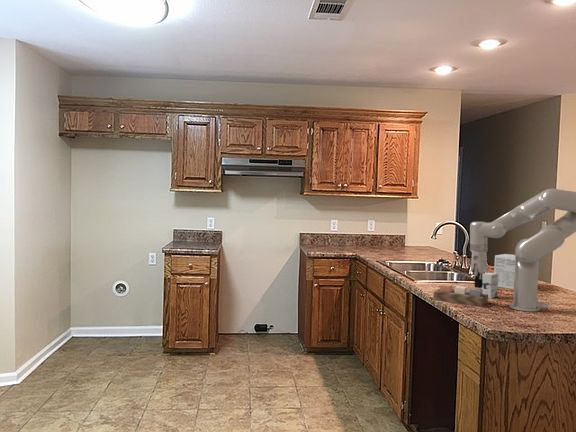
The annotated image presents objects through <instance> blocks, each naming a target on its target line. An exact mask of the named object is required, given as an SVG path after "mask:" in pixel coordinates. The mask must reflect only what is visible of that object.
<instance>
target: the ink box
mask: <svg viewBox="0 0 576 432" xmlns="http://www.w3.org/2000/svg"><path fill="white" fill-rule="evenodd" d="M482 279H483V287H482V288H481V289H483V294H488V299H493V298H497V297H498V289H499V287H498V273H494V272H484V273H483V278H482Z"/></svg>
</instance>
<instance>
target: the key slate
mask: <svg viewBox="0 0 576 432" xmlns="http://www.w3.org/2000/svg"><path fill="white" fill-rule="evenodd" d="M469 292H470V295H471V296H478V297H481V296H482V294H483V289H482V288H476V287H474V288H473V287H472V288H470V289H469Z"/></svg>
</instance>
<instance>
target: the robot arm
mask: <svg viewBox="0 0 576 432" xmlns="http://www.w3.org/2000/svg"><path fill="white" fill-rule="evenodd" d="M553 209H555V210H559V211H565V212H566V213H565V214H564V215H562V216H561V217H559V218H558V219H556V220H555V221H553V222H551V223H549V224H547V225H545V226H543V227H542V228H541V229H540V230H539V231H538V232H537V233H535V234H534V235H533V236H531V237H529V238H523V239H520V240H519V241H518V242H517V244H516V245H515V250H514V251H515V252H514V255H515V276H514V289H513V296H512V297H513V300H512V302H510V303H509V304H508V306H509V308H511V309H513V310H517V311H521V312H522V311H523V312H540V311H541V308H544V309H548V307H549V306H548V303H546V302H541V301H539V299H538V285H539V284H538V282H539V265H540V264H539V263H540V261H539V260H540V259H542V258H543V257H546V256H548V255H549V254H551V253H553V252H554V251H556V250H557V249H558V248H560V247H561V246H563V244H564V243H565V240H566V239H567V238H569V237H571V236H572V235H573V234H575V233H576V191H573V190H566V189H565V190H564V189H559V188H547V189H545V190H543V191H541V192H539V193H538V194H536V195H535V196H533V197H531V198H529V199H528V200H526V201H524V202H523V203H521V204H519V205H517V206H516V207H515V208H513V209H511V210H510V211H508V212H507V213H505V214H503V215H501V216H500V217H498V218H496V219H495V220H493V221H491V222H485V221H472V222H470V225H469V251H470V252H471V261H470V262H471V263H470V265H471V266H470V267H471V273H473V276H474V277H473V278H474V288H476V289H482V287H483V279H482V278H483V274H485V273H487V272H488V259H487V252H488V238H493V239H500V238H503V237H504V236H505V234H506V233H507V232H509V231H511V230H514V229H515V228H517V227H519V226H520V225H524V224H527V223H529V222H531V221H533V220H536V219H537V218H539V217H540V216H542V215H544V214H546V213H548V212H549V211H551V210H553Z"/></svg>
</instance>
